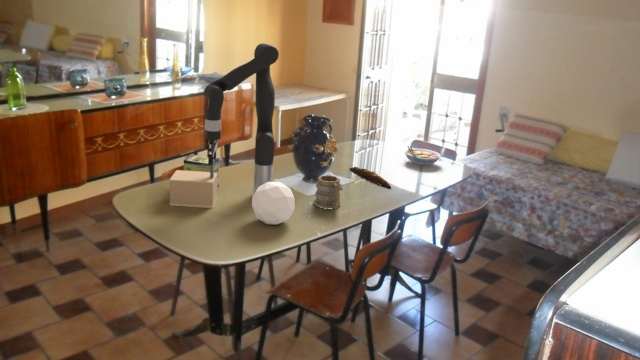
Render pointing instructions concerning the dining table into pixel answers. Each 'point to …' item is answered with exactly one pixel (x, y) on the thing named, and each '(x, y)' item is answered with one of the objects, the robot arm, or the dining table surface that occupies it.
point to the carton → (193, 194)
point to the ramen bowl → (422, 156)
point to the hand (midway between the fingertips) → (212, 161)
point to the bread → (370, 176)
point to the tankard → (328, 192)
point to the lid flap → (195, 176)
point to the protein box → (201, 165)
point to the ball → (273, 203)
